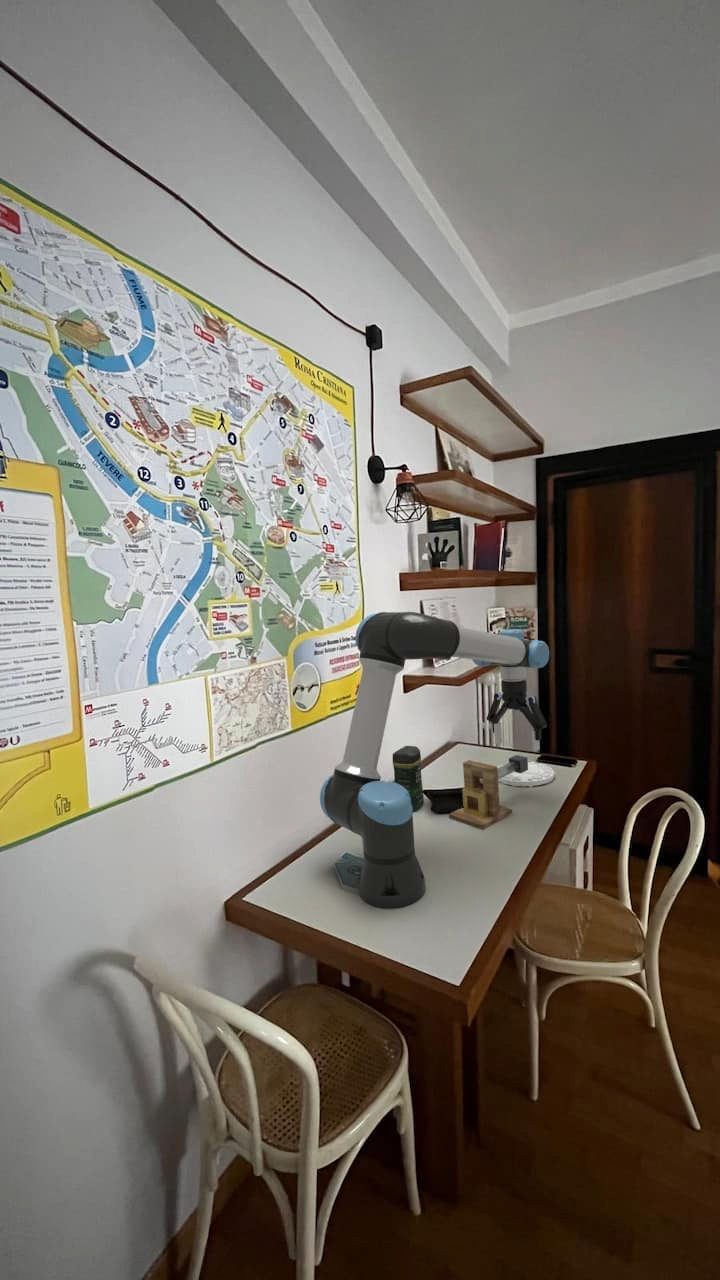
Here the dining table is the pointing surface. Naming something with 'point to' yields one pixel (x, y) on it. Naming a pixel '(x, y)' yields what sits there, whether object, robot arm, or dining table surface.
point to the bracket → (489, 786)
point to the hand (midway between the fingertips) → (516, 746)
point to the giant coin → (529, 776)
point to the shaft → (510, 768)
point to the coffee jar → (409, 773)
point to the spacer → (482, 802)
